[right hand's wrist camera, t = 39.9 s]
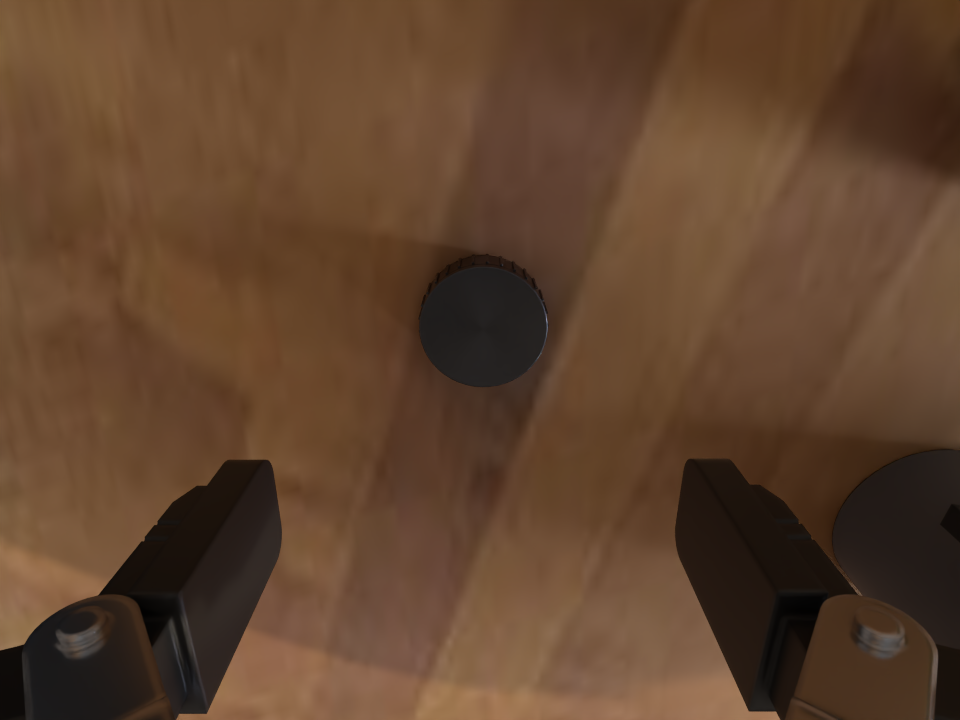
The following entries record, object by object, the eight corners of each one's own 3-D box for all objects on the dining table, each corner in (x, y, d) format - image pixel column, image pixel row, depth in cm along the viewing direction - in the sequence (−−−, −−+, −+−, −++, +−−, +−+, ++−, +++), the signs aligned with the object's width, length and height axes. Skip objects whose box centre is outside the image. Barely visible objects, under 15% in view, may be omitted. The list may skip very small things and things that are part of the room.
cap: (430, 375, 22) (427, 394, 21) (413, 260, 20) (408, 272, 19) (548, 364, 22) (553, 382, 20) (540, 246, 20) (545, 257, 19)
